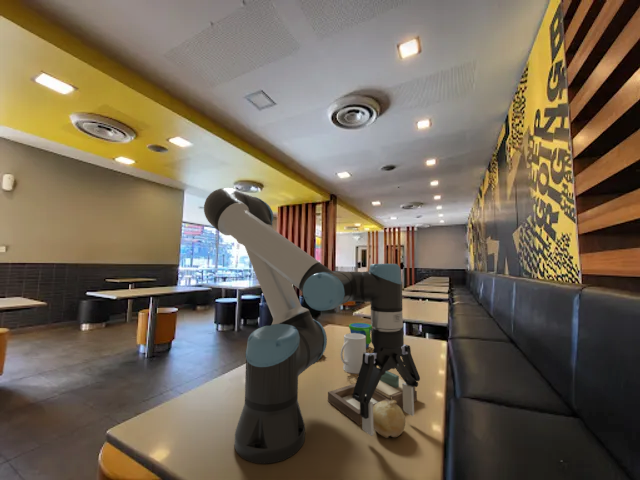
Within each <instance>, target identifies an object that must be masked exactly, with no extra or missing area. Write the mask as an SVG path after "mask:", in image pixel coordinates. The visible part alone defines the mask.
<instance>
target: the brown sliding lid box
mask: <svg viewBox="0 0 640 480" xmlns="http://www.w3.org/2000/svg"><path fill="white" fill-rule="evenodd" d="M355 385H356V382H355V383H353V384H349V385H346V386H343V387H340V388H337V389H334V390H333V389H332V390H329V391H327V402H329V403H330V404H331V405H332V406H334V407H335V408H336V409H338V410H339V411H340V412H341V413H342V414H344V415H345V416H347V417H348V418H349V419H351V420H352V421H353V422H355V423H356V424H357V425H359V426H360V425H362V416H361V415H360V402H358V401H357V400H355V399H354V398H353V397H352V394H353V391H354V388H355ZM417 392H418V391H417V390H416V387H415V388H414V402H416V401H418V395H417V394H418V393H417ZM365 396H366V394H365ZM391 397H392V399H391V398H388V397H386V396H384V395H382V394H381V393H379V392H377V391H374V394H373V396H372V398H371V400H370V401H371V402H373V406H374V405H375V404H376V403H378V402H381V401H388V402H389V401H391V400H396V402H397V403H396V404H397V405H398V406H399V407H400V408H403V391H402V392H399V393H397V394H394V395H391Z"/></svg>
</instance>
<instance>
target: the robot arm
mask: <svg viewBox="0 0 640 480" xmlns="http://www.w3.org/2000/svg"><path fill="white" fill-rule="evenodd" d="M203 212H204V217H205V218H206V220H207V222H208V223H209V225H211V226H212V227H214V229H216V230H217V231H218V232H219V233H221V234H222V235H224V236H231V237H232V238H233V239H235V240H236V241H237V243H238V244H239V245H242V246H244V248H245V250H246V253H247V255H248V258H249V260H250V263H251V266H252V269H253V271H254V274H255V277H256V279H257V281H258V283H259V286H260V288H261V289H260V290H261V291H262V295H263V296H264V299H265V302H266V304H267V307H268V309H269V312H270V314H271V316H272V323H271V325H265V326H261V327H259V328H256V329H254V330H253V331H252V332H251V333H250V334H249V336H248V338H247V342H246V343H247V344H246V350H245V383H244V405H243V408H242V409H241V410H242V411H241V412H240V413H241V414H240V416H239V420H238V422H237V425H236V429H235V432H234V448H235V451H236V453H237V455H239V457H241V458H242V459H244V460H246V461H248V462H251V463H255V464H273V463H274V464H275V463H278V462H281V461H284V460H287V459H289V458H290V457H293V455H295V454H297V452H299V451H300V450H301V448H302V446H303V445H304V442H305V437H306V429H305V427H306V426H305V422H304V418H303V414H302V410H301V408H300V404H299V401H298V397H299V395H298V393H299V376H300V375H301V374H302V373H304V372H305V371H306V370H307V369H308V368H309V367H312V366H313V365H315V364H316V363H317V362H318V361H319V360H320V359H321V358H322V357H323V356H324V353H325V351H326V349H327V344H328V342H327V341H328V338H327V337H328V336H327V333H326V330H325V328H324V326H323V325H322V323H320V321H317V320H315V319H314V318H313V317H312V314H311V312H310V311H311V310H310V309H308V308H306V307H303V306H302V304H301V302H300V300H299V298H298V294H297V292H296V290H295V287H296V288H297V289H298V290H299V291H301V292H302V295H303V298H304V300H305V303H306V305H308V306H309V307H310V308H311V309H313V310H315V311H320V312H322V311H328V310H334V309H335V308H338V306H340V305H344V304H346V303H348V302H364V303H370V325H371V326H372V329H371V334H370V337H371V344H372V346H373V351H372V352H371V353H370V352H367V351H366V352H364V353H363V360H362V365H361V369H360V372H359V374H357V378H356V382H355V383H356V385H355V388H354V391H353V394H352V397H353V398H354V399H355V400H357V401H358V402H360V415H361V416H362V424H361V428H362V431H364V432H365V433H367V435H369V436H374V435H375V434H374V433H375V432H374V430H375V429H374V428H373V402H371V401H370V400H371V398H372V396H373V394H374V391H375V389H376V387H377V385H378V383H379V381H380V379H381V376H382V375H384V374H385V372H386V371H389V372H390V370H392V369H393V370H394V369H395V370H396V371H397V373H398V374H399V376H400V377H401V379H402V380H404V381H405V382H406V383H403V384H402V389H403V406H402V411H403V413H406V414H407V415H409V416H412V417H413V416H415V403H414V402H415V401H414V386H415V388H417V387H418V386H419V381H420V380H421V377H420V375H419V372H418V369H417V367H416V364H415V361H414V358H413V356H412V353H411V351H412V350H411V349H412V348H411V346H410V345H408V344H405V342H404V341H405V339H404V330H403V329H402V328H403V327H404V318H403V282H402V271H401V269H402V268H401V267H400V265H399V264H398V263H371V264H370V265H369V269H368V270H367V271H344V270H343V271H341V270H331V269H330V268H328V267H327V266H325V265H324V264H323V263H321V262H320V261H318V259H316V258H315V257H313V256H312V255H310V254H309V253H307V252H306V251H304V250H303V249H302V248H301V247H300V246H297V245H296V244H295V243H294V242H292V241H291V240H289V239H288V238H287V237H285V236H284V235H282V234H281V233H279V232H278V231H277V230H275V229H274V226H273V221H274V214H273V210H272V208H271V206H270V205H269V204H268V203H267V202H266V201H264V200H263V199H261V198H260V197H256V196H251V195H249V194H247V193H244V192H241V191H239V190H237V189H234V188H229V187H221V188H218V189H216V190H213V191H212V192H211V193H209V195H208V196H207V197H206V199H205V201H204V205H203ZM322 355H323V356H322ZM321 356H322V357H321ZM320 357H321V358H320ZM379 368H381V369H379ZM365 394H366V396H365Z"/></svg>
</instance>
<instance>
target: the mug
mask: <svg viewBox="0 0 640 480" xmlns="http://www.w3.org/2000/svg"><path fill="white" fill-rule="evenodd" d="M366 349H367V348H366V336H365V335H362V334H358V333H351V332H350V333H345V334H344V335H343V345H342V347H341V349H340V360H341V361H342V363H343V367H342V369H343V371H344V372H346V373H348V374H354V375H355V374H356V375H359V372H360V369H361V365H362V360H363V353H364V352H366V353H367V350H366Z"/></svg>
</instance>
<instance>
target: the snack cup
mask: <svg viewBox="0 0 640 480" xmlns="http://www.w3.org/2000/svg"><path fill="white" fill-rule="evenodd" d="M348 328H349V331H350V333H358V334H362V335H365V336H366V349H368V348H370V347H369V346H370V344H372V342H371V329H372V328H373V327H372V326H371V323H367V322H366V323H365V322H352V323H349V325H348Z"/></svg>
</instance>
